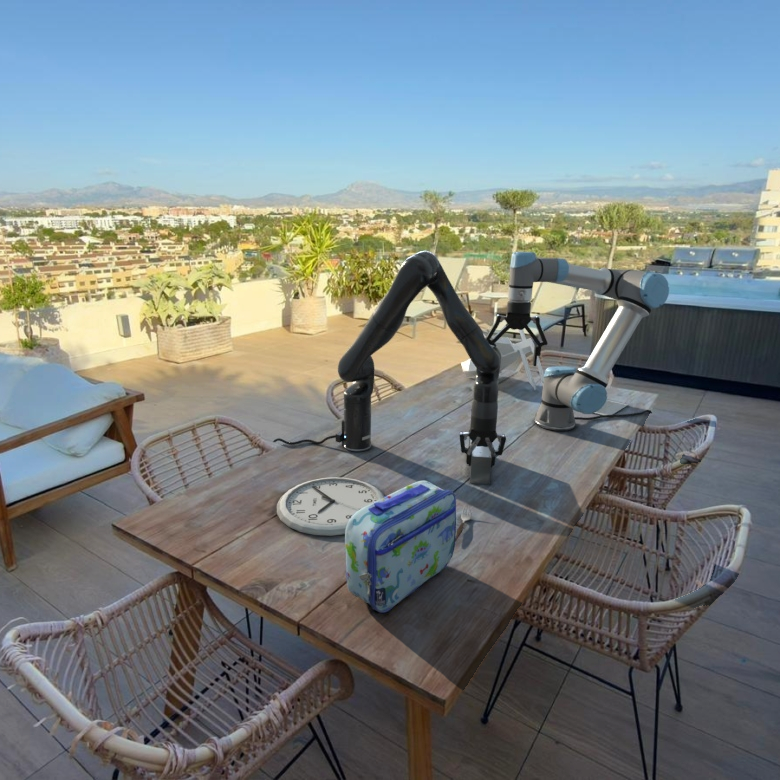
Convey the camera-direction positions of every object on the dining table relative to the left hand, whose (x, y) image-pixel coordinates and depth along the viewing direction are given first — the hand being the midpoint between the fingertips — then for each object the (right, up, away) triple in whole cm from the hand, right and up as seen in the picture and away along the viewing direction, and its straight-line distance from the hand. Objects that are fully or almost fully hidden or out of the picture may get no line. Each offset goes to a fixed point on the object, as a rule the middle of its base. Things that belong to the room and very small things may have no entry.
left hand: (480, 465), depth 158 cm
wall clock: (-43, -9, -15) cm, 47 cm away
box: (+1, -2, +9) cm, 9 cm away
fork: (-9, -12, -25) cm, 29 cm away
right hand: (+14, +32, +18) cm, 39 cm away
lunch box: (-25, -19, -46) cm, 56 cm away
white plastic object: (+27, +26, +99) cm, 106 cm away
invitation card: (+64, +16, +68) cm, 95 cm away
